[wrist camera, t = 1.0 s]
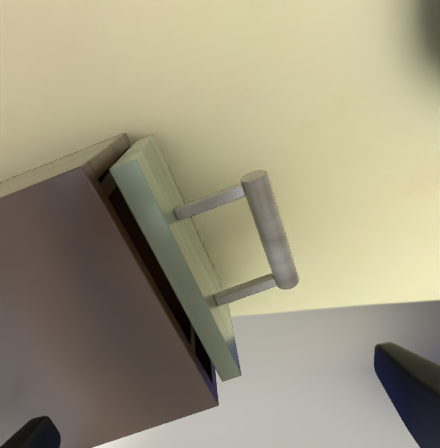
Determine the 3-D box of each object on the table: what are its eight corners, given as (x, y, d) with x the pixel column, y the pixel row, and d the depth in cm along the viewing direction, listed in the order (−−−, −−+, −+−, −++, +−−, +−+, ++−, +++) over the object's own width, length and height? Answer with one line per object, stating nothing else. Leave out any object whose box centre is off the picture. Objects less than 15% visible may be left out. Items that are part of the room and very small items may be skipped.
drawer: (234, 101, 18) (259, 110, 12) (290, 278, 23) (326, 347, 17) (-76, 224, 19) (-202, 290, 13) (48, 363, 25) (1, 456, 18)
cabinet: (125, 132, 19) (81, 165, 11) (209, 305, 25) (219, 406, 17) (-109, 225, 20) (-303, 316, 12) (26, 370, 26) (-43, 492, 18)
